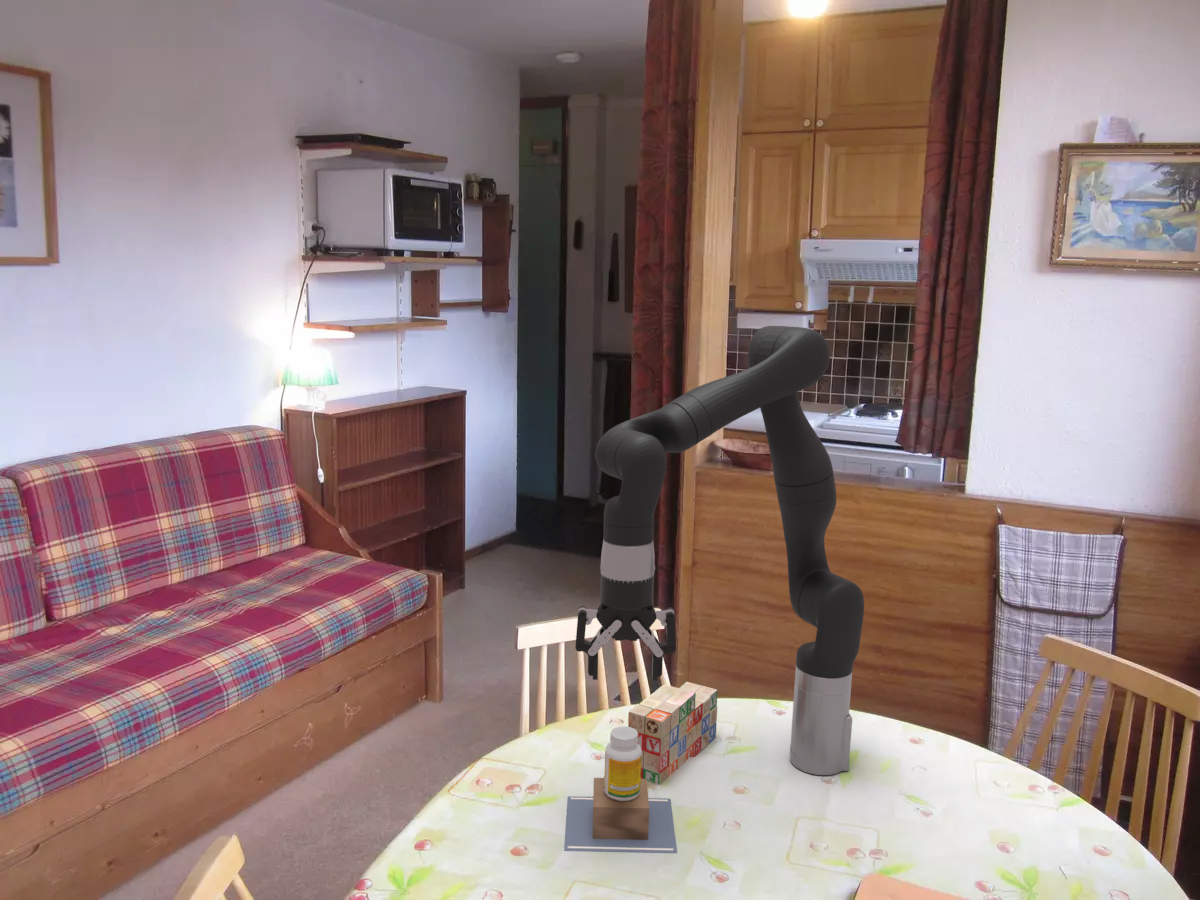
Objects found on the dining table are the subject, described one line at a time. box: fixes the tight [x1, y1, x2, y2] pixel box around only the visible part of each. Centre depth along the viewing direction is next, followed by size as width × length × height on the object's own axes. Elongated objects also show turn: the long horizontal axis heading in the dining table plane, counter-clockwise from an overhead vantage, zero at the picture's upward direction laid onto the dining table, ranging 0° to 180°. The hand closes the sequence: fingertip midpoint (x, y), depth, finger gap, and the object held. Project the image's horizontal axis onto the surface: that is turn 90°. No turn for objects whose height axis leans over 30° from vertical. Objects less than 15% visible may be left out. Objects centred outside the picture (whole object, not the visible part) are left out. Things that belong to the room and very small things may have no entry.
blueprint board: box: [563, 795, 678, 854], centre depth 142 cm, size 16×14×1 cm
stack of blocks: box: [627, 681, 718, 785], centre depth 162 cm, size 21×6×12 cm, turn 148°
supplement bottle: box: [603, 725, 642, 801], centre depth 140 cm, size 5×5×10 cm
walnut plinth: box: [592, 777, 649, 840], centre depth 141 cm, size 8×8×5 cm
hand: (624, 678), depth 138 cm, fingers open, 8 cm apart
